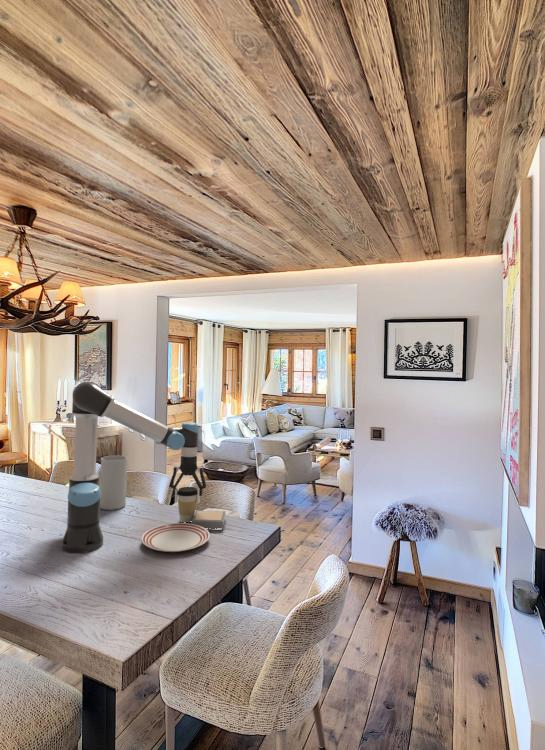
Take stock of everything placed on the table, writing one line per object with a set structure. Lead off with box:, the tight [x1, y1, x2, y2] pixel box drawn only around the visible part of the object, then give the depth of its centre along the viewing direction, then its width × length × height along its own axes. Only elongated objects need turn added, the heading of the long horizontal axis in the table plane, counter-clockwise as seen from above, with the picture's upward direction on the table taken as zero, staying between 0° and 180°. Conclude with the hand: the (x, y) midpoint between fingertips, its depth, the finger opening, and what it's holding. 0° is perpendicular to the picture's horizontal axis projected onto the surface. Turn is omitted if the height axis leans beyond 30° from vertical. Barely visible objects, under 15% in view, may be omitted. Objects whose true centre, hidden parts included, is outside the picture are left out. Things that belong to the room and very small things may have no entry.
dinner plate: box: [141, 522, 211, 553], centre depth 171 cm, size 27×27×3 cm
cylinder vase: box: [99, 455, 128, 511], centre depth 213 cm, size 12×12×25 cm
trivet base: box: [191, 510, 226, 530], centre depth 192 cm, size 14×14×4 cm
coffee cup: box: [177, 486, 198, 522], centre depth 196 cm, size 10×10×15 cm
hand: (187, 502), depth 196 cm, fingers closed on coffee cup, 10 cm apart
